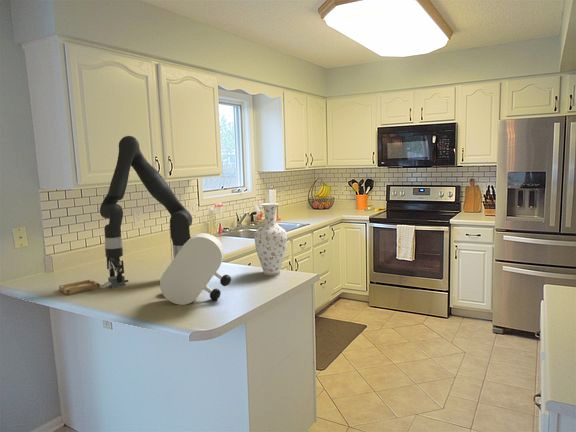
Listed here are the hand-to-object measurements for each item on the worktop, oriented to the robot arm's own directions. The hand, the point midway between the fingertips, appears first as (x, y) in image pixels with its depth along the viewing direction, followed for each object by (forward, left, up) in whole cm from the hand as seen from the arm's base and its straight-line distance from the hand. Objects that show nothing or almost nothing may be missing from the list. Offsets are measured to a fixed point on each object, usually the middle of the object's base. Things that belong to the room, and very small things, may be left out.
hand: (116, 280), depth 207 cm
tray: (+7, +14, -3) cm, 16 cm away
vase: (-39, -63, -3) cm, 74 cm away
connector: (-1, 0, -3) cm, 3 cm away
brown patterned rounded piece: (-32, -12, -3) cm, 34 cm away
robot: (-48, -14, -3) cm, 50 cm away
